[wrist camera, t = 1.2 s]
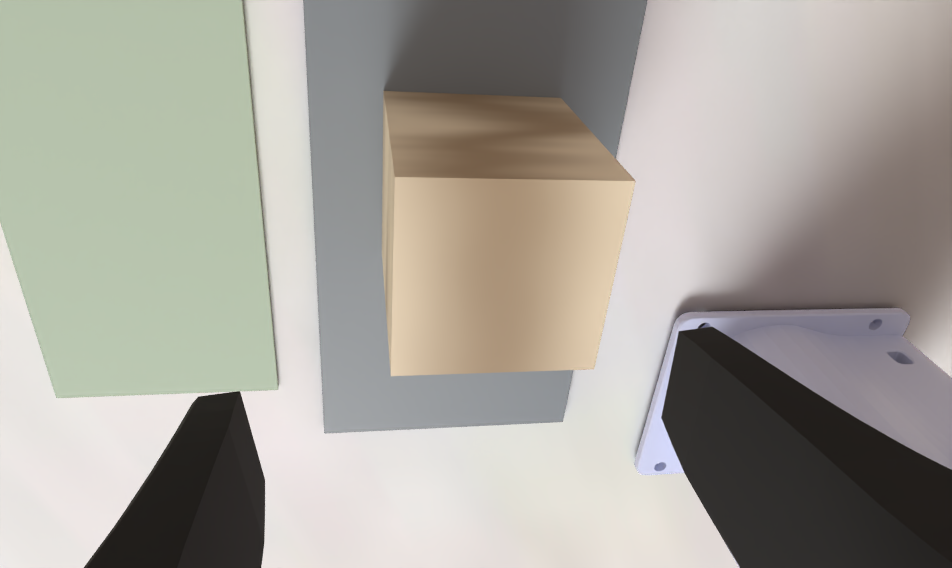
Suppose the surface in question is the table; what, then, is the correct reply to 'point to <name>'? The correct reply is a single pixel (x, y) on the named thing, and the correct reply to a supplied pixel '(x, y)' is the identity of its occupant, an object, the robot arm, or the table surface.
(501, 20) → the grey plate
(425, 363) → the maple block
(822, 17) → the table surface
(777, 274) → the table surface
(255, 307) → the mat
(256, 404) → the table surface
